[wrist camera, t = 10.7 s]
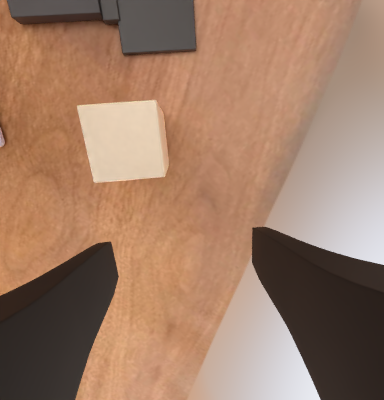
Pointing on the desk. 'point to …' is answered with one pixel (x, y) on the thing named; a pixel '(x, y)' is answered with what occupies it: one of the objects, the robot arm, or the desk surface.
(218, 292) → the desk surface
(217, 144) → the desk surface
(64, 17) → the spatula
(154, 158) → the cream block
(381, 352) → the robot arm
